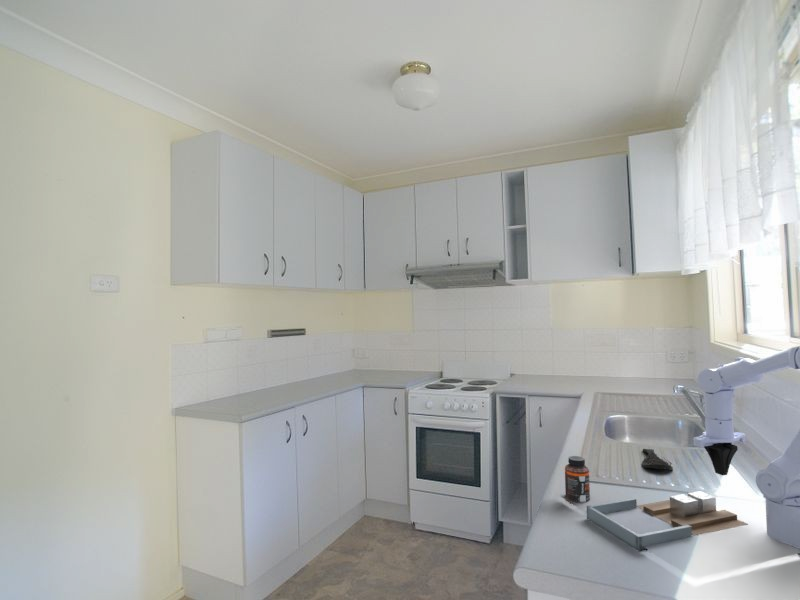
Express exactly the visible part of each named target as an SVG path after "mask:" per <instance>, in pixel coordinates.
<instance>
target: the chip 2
mask: <svg viewBox="0 0 800 600" xmlns="http://www.w3.org/2000/svg"><path fill="white" fill-rule="evenodd" d="M687 496H688V497H691V498H693V499H695V500H698V515H700V514H705V513H710V512H715V511H716V510H717V500H716V499H717V498H716V496H714V495H711V494H709V493H706V492H703V491H702V490H701V491H700V490H699V491H693V492H687Z"/></svg>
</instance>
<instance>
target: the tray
mask: <svg viewBox="0 0 800 600" xmlns="http://www.w3.org/2000/svg"><path fill="white" fill-rule="evenodd" d="M637 503H638V501H637V499H636V498H635V497H632V498H627V499H620V500H614V501H609V502H603V503H597V504H596V503H595V504H591V505H586V519H587V520H588V519H589V520H588V521H590V522H591V521H592V523H593V524H594V525H596V526H598V527H600V528H601V529H602V530H603V531H606V532H607V533H609V534H611V535H612V536H613V537H615V538H617V539H618V540H619V541H621V542H623V543H625V544H626V545H628V546H629V547H631V548H633V549H634V550H636V551H637V552H639V553H641V552H644V551H648V550H649V549H648V548H647V546H651V545H657V544H659V543H665V542H670V541H674V540H678V539H679V540H680V539H684V538H685V539H686V538H690V537H692V536H693V535H692V530H691V526H689V525H685V526H680V527H675V526H674V527H670V528H665V529H660V530H656V531H650V532H646V533H645V532H644V533H641V534H640V533H638V532H635V531H633V530H632V529H630V528H628V527H626V525H623V524H622V523H620V522H618V521H616V520H614V519H613V518H611V517H610V516H608V515H606V514H610V513H615V512H621V511H626V510H631V509H637V508H638V507H637V506H638V504H637Z"/></svg>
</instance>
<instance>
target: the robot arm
mask: <svg viewBox="0 0 800 600" xmlns="http://www.w3.org/2000/svg"><path fill="white" fill-rule="evenodd" d="M791 368H792V369H794V370H800V345H798V346H792V347H790V348H786V349H784V350H782V351H781V350H780V351H778V352H776V353H773V354H771V355H770V354H769V355H768V356H765V357H763V358H759V359H757V360H754V359H752V358H748V357H745V358H744V357H742V356H741V357H736V358H734V361H732V362H730V363H727V364H725V363H721V364H718V365H717V368H704V369H703V370H701V371H700V372H699V374H698V375H697V383H698V386H699V387H700V389H701V390H702V391H703V396H704V397H703V399H704V421H705V422H704V423H705V424H704V425H705V427H704V428H705V431H703V432H702V435H701V434H700V435H699V436H695V437H693V438H692V439H693V440H692V441H693V447H697V448H701V449H703V448H704V449H705V451H706V453H707V454H708V456H709V458H710V461H711V463H712V467H713V469H714V472H715V474H717V475H720V476H727V475H728V474H729V468H730V465H731V463H732V460H733V457H734V456H735V454H736V452H737V451H738V445H735V444H733V443H739V442H741V443H746V441H747V438H746V437H747V435H746V433H743V432H740V431H739V432H738V431H737V432H736V431H734V430H735V429H734V401H733V399H734V397H735V391H736V390H737V389H738V388H743V387H746V386H749V385H753V384H757V383H760V382H761V381H762V379H763V378H764V375H767V374H770V373H771V374H772V373H775V372H779V371H783V370H784V371H785V370H788V369H791ZM755 483H756V486H757V488H758V490H759V492H760V493H761V494H762V496H763V499H765V517H766V534H767V536H768V537H770V538H771V539H773V540H775V541H777V542H780V543H784V544H785V545H788V546H789V545H790V546H792V547H794V548H796V549H799V550H800V429H799V430H798V432H797V434H796V435H795V436H794V437H793V439H792V441H791V442H790V444H789V446H788V447H787V449H786V450H785V451H784V453H783V454H782V455H780V456H778V457H777V458H775V459H773V460H772V461H771V462H769V464H768V465H767V466H766V467H765V468H762V469H760V470H759V471H758V472H756V474H755ZM796 554H797V555H799V556H800V552H797V553H796Z"/></svg>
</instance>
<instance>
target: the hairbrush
mask: <svg viewBox="0 0 800 600" xmlns="http://www.w3.org/2000/svg"><path fill="white" fill-rule="evenodd" d="M642 452H645V453H647V455H646V456H644V459H643V460H642V461H641V467H642V468H644V469H656V470H657V469H658V470H666V471H667V470H668V471H669V470H670V471H673V470H674V467H673V466H672V465H673V463H672V462H670V461H669V460H666V459H665V457H663V458H660V457H659V455H658V454H657V453H656V452H655V449H652V448H651V449H649V448H642Z"/></svg>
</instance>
